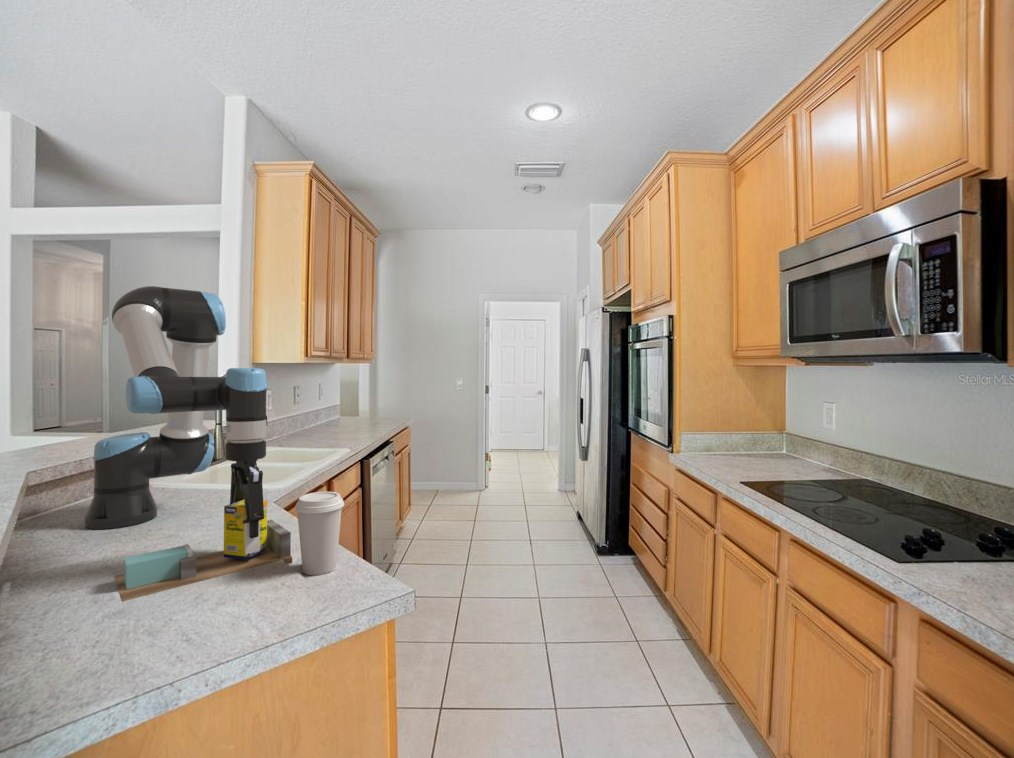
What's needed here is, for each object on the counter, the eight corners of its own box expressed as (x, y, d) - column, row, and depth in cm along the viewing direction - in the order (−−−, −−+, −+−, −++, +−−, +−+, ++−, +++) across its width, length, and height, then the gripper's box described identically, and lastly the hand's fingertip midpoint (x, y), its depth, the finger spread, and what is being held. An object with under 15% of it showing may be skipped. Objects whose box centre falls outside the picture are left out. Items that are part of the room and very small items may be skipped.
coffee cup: (295, 582, 89) (295, 505, 89) (293, 564, 98) (293, 493, 98) (347, 572, 94) (347, 499, 94) (340, 556, 102) (340, 488, 102)
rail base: (114, 581, 89) (114, 549, 89) (270, 545, 109) (270, 518, 109) (122, 608, 79) (122, 572, 79) (292, 562, 99) (292, 533, 99)
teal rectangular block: (123, 581, 86) (123, 557, 86) (187, 566, 93) (187, 544, 93) (126, 590, 83) (126, 564, 83) (192, 573, 90) (192, 550, 90)
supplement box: (247, 560, 95) (247, 507, 95) (222, 557, 96) (222, 505, 96) (267, 549, 101) (268, 500, 101) (244, 547, 102) (244, 498, 102)
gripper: (213, 436, 103) (213, 538, 104) (240, 447, 88) (240, 566, 89) (250, 434, 109) (250, 530, 109) (282, 443, 94) (281, 555, 94)
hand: (246, 546), depth 99 cm, fingers open, 8 cm apart
